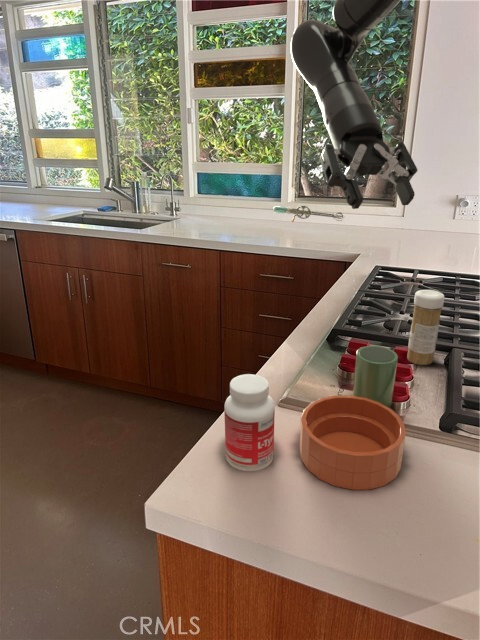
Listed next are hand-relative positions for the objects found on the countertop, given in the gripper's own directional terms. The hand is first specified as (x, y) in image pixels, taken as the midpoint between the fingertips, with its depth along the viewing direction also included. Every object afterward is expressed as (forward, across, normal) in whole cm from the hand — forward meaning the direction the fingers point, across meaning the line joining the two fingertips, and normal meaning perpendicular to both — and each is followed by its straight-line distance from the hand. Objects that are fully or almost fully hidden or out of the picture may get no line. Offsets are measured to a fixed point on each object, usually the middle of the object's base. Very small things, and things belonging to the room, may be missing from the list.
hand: (384, 203), depth 68 cm
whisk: (-76, +48, +111) cm, 142 cm away
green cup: (+27, -5, +13) cm, 30 cm away
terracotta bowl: (+33, -14, +7) cm, 37 cm away
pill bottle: (+30, -26, +10) cm, 41 cm away
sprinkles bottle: (+21, +10, +20) cm, 30 cm away
